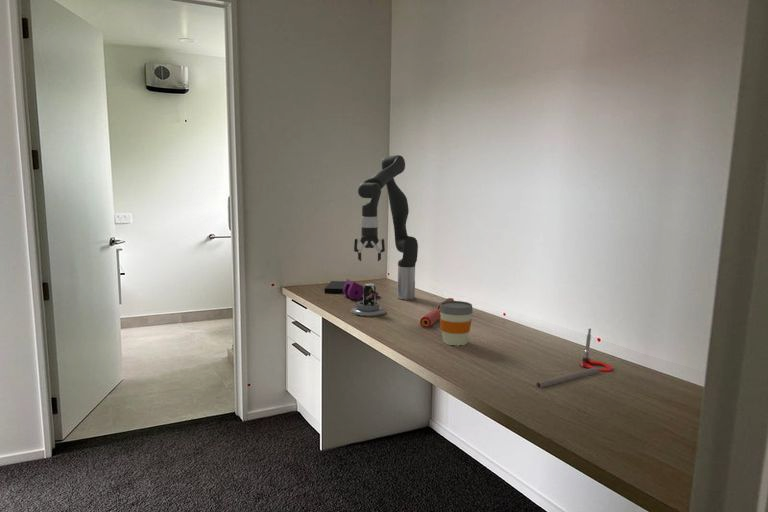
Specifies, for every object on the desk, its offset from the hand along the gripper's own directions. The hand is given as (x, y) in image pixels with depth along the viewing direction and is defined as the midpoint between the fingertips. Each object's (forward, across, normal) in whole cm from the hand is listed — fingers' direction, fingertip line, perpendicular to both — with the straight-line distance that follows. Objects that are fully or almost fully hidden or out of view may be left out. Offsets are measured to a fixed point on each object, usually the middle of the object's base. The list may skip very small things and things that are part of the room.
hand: (369, 260), depth 243 cm
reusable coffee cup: (+24, -35, +47) cm, 63 cm away
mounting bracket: (+25, +5, -31) cm, 40 cm away
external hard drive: (+25, +19, -51) cm, 60 cm away
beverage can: (+23, 0, +2) cm, 23 cm away
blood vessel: (+25, -32, +7) cm, 41 cm away
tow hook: (+25, -80, +72) cm, 110 cm away
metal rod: (+25, -66, +84) cm, 109 cm away
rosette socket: (+24, 0, +2) cm, 24 cm away
